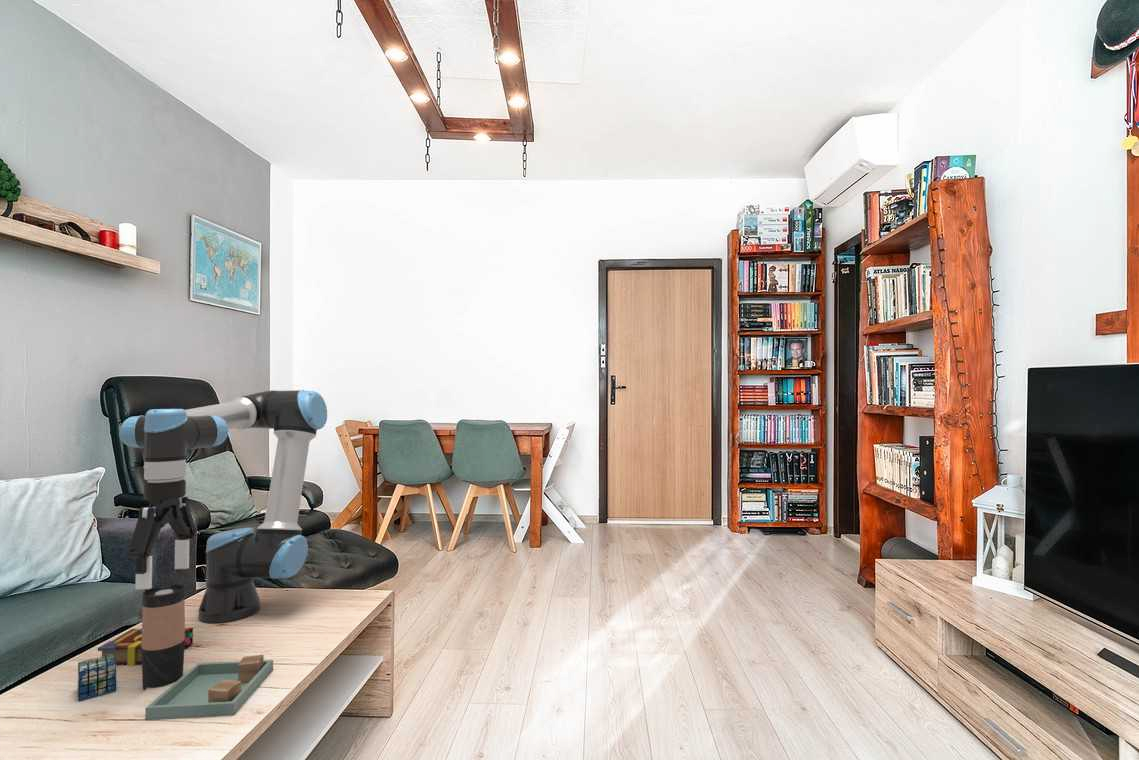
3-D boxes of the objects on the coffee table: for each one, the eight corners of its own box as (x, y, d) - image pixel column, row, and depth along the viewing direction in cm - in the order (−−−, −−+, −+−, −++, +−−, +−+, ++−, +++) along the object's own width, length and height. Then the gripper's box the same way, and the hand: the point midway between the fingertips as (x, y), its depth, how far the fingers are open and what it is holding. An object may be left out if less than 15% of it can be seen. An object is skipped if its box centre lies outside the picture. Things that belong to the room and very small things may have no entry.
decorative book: (132, 645, 143) (132, 625, 143) (198, 644, 144) (199, 624, 144) (97, 667, 132) (97, 645, 132) (169, 665, 133) (169, 644, 133)
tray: (197, 676, 127) (197, 663, 127) (273, 673, 128) (273, 659, 128) (145, 723, 109) (145, 707, 109) (233, 719, 110) (234, 703, 111)
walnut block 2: (243, 675, 126) (243, 656, 126) (263, 672, 127) (263, 654, 127) (238, 684, 122) (238, 665, 122) (258, 681, 123) (258, 662, 123)
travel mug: (162, 693, 120) (163, 597, 120) (131, 690, 121) (132, 594, 122) (192, 676, 127) (193, 585, 128) (164, 672, 129) (164, 583, 129)
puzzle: (116, 691, 121) (116, 663, 121) (78, 702, 117) (78, 672, 117) (113, 680, 125) (114, 653, 125) (77, 690, 121) (78, 662, 122)
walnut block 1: (223, 699, 116) (223, 679, 116) (241, 701, 115) (241, 681, 115) (208, 710, 112) (208, 689, 112) (226, 712, 111) (226, 691, 111)
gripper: (180, 472, 137) (178, 561, 137) (106, 489, 112) (104, 599, 112) (213, 471, 138) (212, 560, 137) (147, 488, 113) (145, 597, 113)
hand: (163, 578), depth 125 cm, fingers open, 13 cm apart
